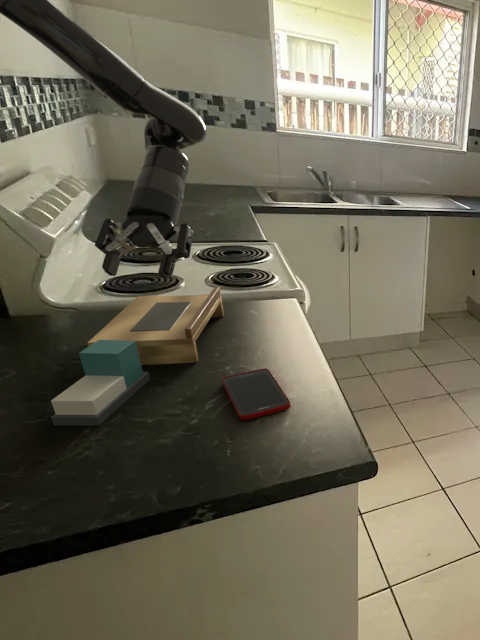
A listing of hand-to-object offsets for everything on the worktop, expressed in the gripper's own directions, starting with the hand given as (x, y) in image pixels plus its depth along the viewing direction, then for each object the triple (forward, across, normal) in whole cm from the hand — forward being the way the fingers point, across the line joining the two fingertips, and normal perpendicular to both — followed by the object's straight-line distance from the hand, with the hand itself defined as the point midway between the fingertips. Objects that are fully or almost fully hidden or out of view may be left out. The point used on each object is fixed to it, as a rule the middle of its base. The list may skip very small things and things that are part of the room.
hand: (136, 275), depth 83 cm
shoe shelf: (+5, -2, +18) cm, 19 cm away
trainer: (+22, 0, +1) cm, 22 cm away
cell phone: (+21, +22, +2) cm, 30 cm away
